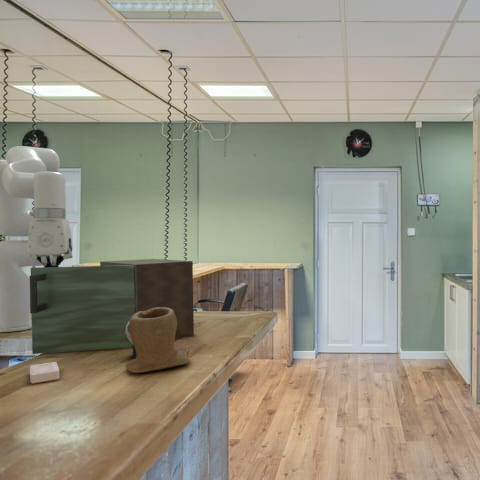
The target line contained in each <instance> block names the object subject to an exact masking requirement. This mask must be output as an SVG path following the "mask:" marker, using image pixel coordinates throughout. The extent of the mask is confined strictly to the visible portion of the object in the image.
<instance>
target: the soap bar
mask: <svg viewBox="0 0 480 480" xmlns="http://www.w3.org/2000/svg"><path fill="white" fill-rule="evenodd" d="M29 379H30V384H33V385H34V384H39V383H45V382H52V381H58V380H59V379H60V368H59V365H58V362H56V361H51V362H43V363H36V364H31V365H30V366H29Z"/></svg>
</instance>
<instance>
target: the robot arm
mask: <svg viewBox="0 0 480 480" xmlns="http://www.w3.org/2000/svg"><path fill="white" fill-rule="evenodd" d="M60 166H61V159H60V156H59V155H58V153H57V152H56V151H54V149H51V148H46V147H45V148H44V147H35V146H26V145H17V146H13V147H11V148H9V149H8V150H7V152H6V154H5V159H0V235H1V236H4V237H12V238H13V237H14V238H17V237H20V238H21V237H22V238H23V237H24V238H25V237H27V239H26V240H25V239H18V240H17V239H15V240H14V239H13V240H2V241H0V333H10V332H21V331H26V330H30V329H31V330H32V315H31V313H30V279H29V275H28V274H27V273H26V272H25V271H23V270H22V268H25V267H60V265H61V264H62V263H63V261H65V260H70V259H72V258H73V253H72V252H73V235H72V230H71V225H70V222H69V220H67V210H66V209H67V204H66V203H67V202H66V199H67V198H66V196H67V195H66V177H65V175H64V174H63V173H61V172H59V169H60ZM28 199H29V200H30V199H31V200H33V210H30V209H28V206H27V205H28V201H27V200H28Z"/></svg>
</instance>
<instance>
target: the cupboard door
mask: <svg viewBox="0 0 480 480" xmlns="http://www.w3.org/2000/svg"><path fill="white" fill-rule="evenodd" d="M28 277H29V280H30V314H31V322H32V328H31V349H32V350H31V351H32V355H39V354H51V353H52V354H53V353H54V354H55V353H68V352H69V353H70V352H83V351H84V352H85V351H97V350H98V351H100V350H115V349H127V348H128V349H131V348H132V349H133V344H132V343H131V342H130V341H129V339H128V338H127V336H126V333H125V331H126V325H127V323H128V322H129V321H130V318H131V317H132V316H133V315H134V314H135V272H134V265H116V266H100V265H85V266H84V265H82V266H80V265H79V266H77V265H76V266H59V267H44V266H37V267H30V275H28ZM127 328H128V331H129V333H130V324H129V325H128V327H127Z"/></svg>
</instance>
